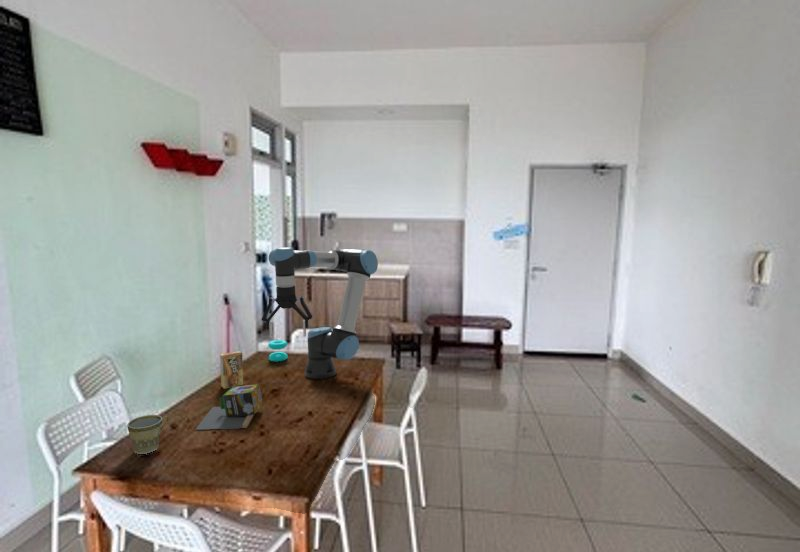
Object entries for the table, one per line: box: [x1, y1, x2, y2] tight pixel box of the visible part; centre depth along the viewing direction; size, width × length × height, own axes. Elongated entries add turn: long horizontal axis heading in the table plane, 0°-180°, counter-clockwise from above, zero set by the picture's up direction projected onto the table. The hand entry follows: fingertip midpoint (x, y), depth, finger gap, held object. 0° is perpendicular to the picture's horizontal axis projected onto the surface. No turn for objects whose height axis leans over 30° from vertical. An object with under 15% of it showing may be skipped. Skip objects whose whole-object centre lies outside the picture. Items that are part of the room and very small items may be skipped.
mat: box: [195, 406, 255, 431], centre depth 173 cm, size 18×20×2 cm
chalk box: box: [219, 383, 264, 417], centre depth 176 cm, size 9×9×15 cm
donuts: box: [267, 339, 289, 363], centre depth 246 cm, size 10×10×10 cm
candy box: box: [219, 350, 244, 390], centre depth 206 cm, size 9×4×15 cm, turn 129°
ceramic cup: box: [126, 414, 170, 455], centre depth 149 cm, size 13×10×10 cm
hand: (288, 336), depth 186 cm, fingers open, 13 cm apart
